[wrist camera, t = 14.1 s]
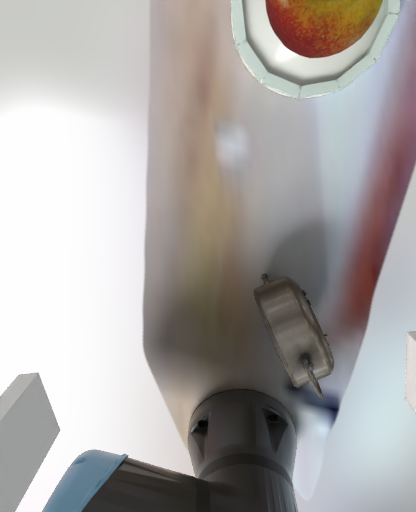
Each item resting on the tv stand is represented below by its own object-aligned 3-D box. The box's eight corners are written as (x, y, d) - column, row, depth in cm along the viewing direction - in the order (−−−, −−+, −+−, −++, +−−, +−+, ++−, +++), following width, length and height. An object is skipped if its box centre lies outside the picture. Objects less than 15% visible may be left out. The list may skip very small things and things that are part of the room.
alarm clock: (247, 271, 42) (260, 350, 26) (289, 254, 41) (328, 325, 25) (280, 343, 45) (309, 451, 29) (320, 328, 44) (372, 432, 28)
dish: (391, 83, 34) (399, 81, 33) (241, 110, 36) (242, 108, 34) (393, -108, 30) (403, -122, 28) (220, -69, 31) (219, -80, 29)
